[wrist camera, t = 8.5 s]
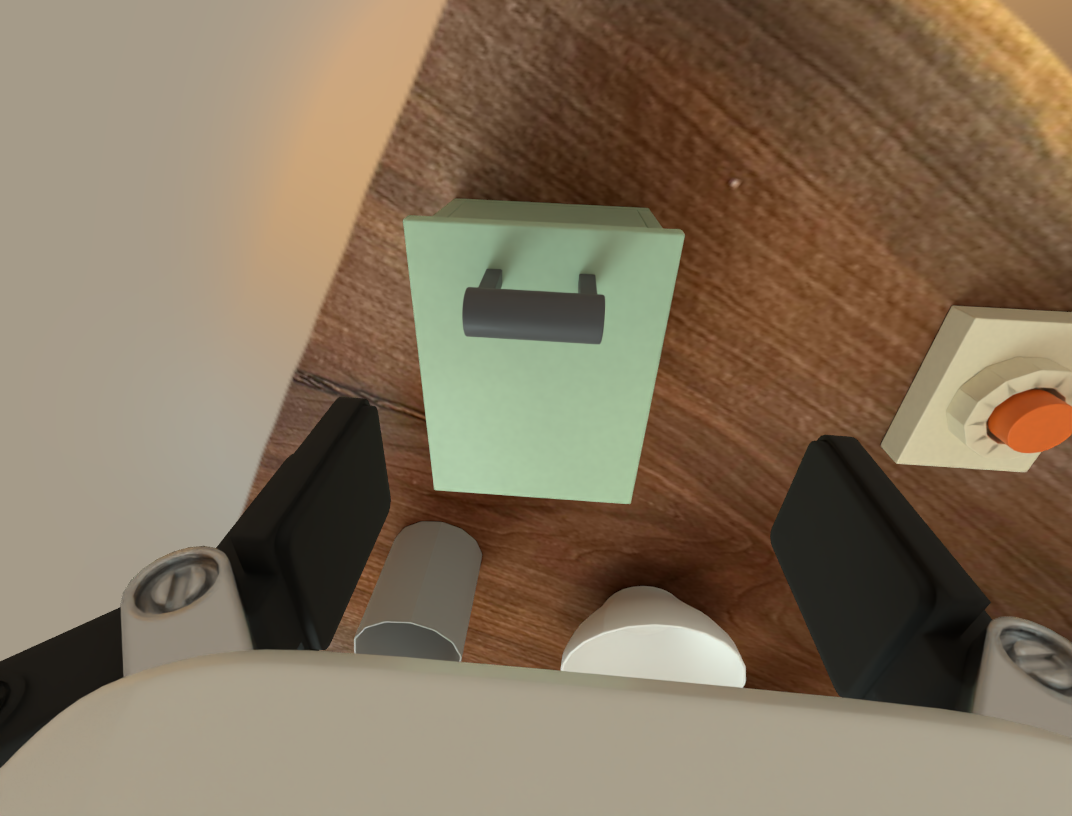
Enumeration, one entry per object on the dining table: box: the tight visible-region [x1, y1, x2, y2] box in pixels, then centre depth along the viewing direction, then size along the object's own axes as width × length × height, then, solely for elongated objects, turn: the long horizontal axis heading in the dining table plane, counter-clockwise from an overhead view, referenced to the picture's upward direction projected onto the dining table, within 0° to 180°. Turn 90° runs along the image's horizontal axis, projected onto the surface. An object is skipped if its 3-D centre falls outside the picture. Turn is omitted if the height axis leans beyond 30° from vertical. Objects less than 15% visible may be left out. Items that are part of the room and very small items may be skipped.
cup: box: [354, 521, 482, 662], centre depth 42 cm, size 8×8×10 cm
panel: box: [881, 306, 1072, 472], centre depth 32 cm, size 11×9×4 cm
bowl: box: [561, 586, 746, 688], centre depth 46 cm, size 16×16×7 cm
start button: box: [988, 389, 1072, 453], centre depth 30 cm, size 4×4×2 cm
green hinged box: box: [432, 198, 662, 228], centre depth 29 cm, size 15×12×9 cm
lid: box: [403, 215, 685, 504], centre depth 23 cm, size 15×12×6 cm
